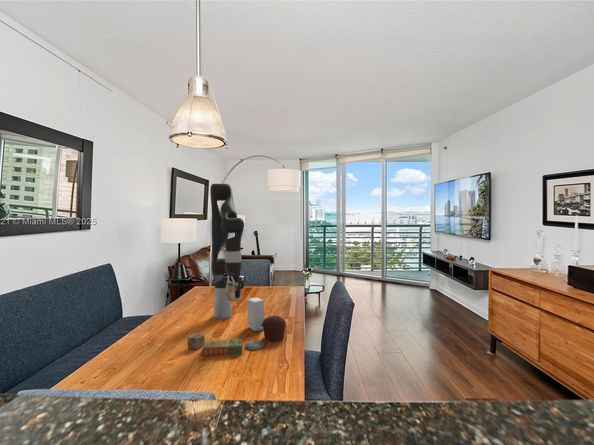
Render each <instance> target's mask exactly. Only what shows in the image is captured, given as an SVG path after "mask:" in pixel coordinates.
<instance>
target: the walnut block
mask: <svg viewBox="0 0 594 445" xmlns="http://www.w3.org/2000/svg"><path fill="white" fill-rule="evenodd" d="M205 341H206V339H205V333H196V332H195V333H193V334H191V335H188V336H187V349H189V350H194V351H198V350H200V349H203V346H204V343H205Z"/></svg>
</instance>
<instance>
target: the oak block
mask: <svg viewBox="0 0 594 445" xmlns="http://www.w3.org/2000/svg"><path fill="white" fill-rule="evenodd" d="M237 287H238V285H237ZM226 300H228V301H231V302H232V303H233V302H239V301H242V289H240V298H235V286H234V285H233V284H230V285H226Z"/></svg>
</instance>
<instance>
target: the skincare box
mask: <svg viewBox="0 0 594 445" xmlns="http://www.w3.org/2000/svg"><path fill="white" fill-rule="evenodd" d="M246 302H247V304H246V305H247V320H248V321H247V322H248V325H247V326H248V328H249V329H250V330H252V331H253V332H258V331H264V330H263V327H262V326H261V324H262V322H263V321H264V319H266V318H265V305H264V302H265V301H264V300H263V299H262V298H259V297H257V296H256V297H251V298H247V300H246Z"/></svg>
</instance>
